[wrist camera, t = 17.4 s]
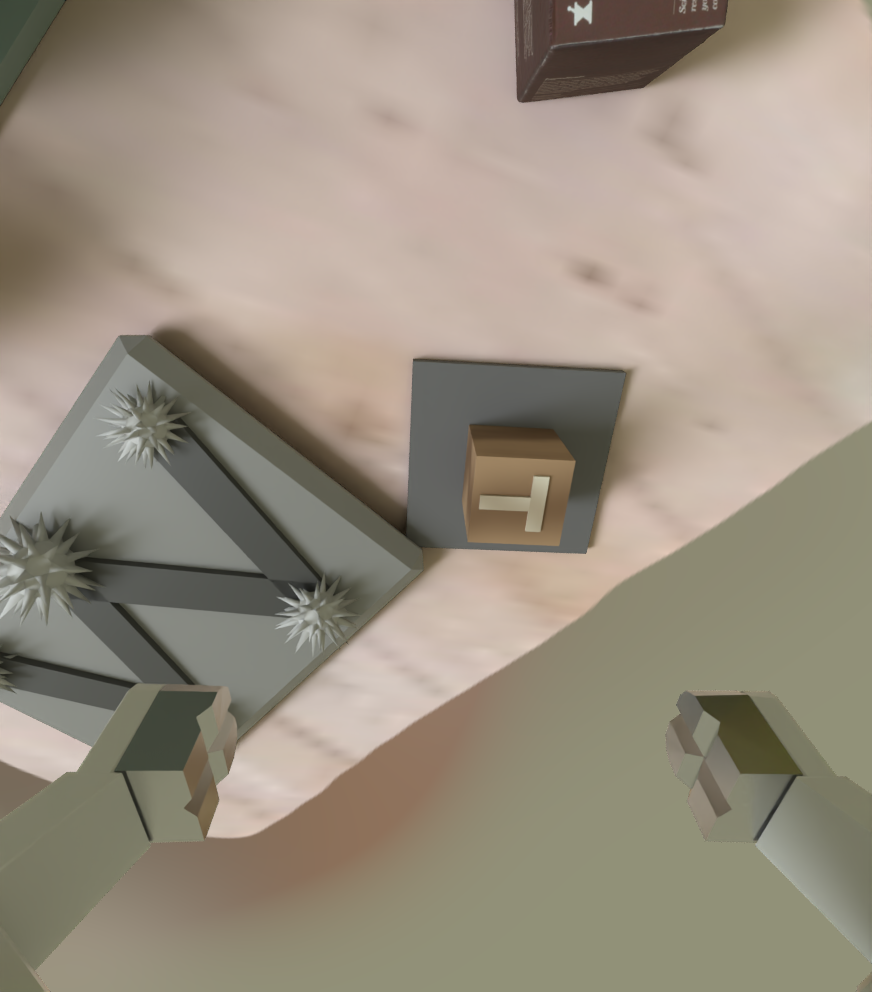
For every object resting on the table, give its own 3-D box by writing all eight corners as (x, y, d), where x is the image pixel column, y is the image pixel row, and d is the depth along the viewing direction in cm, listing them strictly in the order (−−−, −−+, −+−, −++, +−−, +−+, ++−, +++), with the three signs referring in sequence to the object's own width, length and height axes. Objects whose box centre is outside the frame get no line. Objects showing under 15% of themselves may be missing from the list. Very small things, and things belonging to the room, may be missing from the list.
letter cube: (468, 424, 30) (476, 456, 25) (553, 429, 30) (576, 462, 26) (461, 500, 32) (467, 543, 27) (540, 504, 32) (559, 547, 28)
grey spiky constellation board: (193, 769, 43) (152, 860, 37) (-68, 637, 37) (-173, 719, 30) (433, 548, 34) (435, 618, 28) (142, 317, 28) (55, 339, 21)
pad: (413, 359, 29) (413, 361, 28) (622, 370, 29) (626, 373, 29) (406, 541, 34) (405, 546, 33) (583, 549, 35) (586, 553, 34)
